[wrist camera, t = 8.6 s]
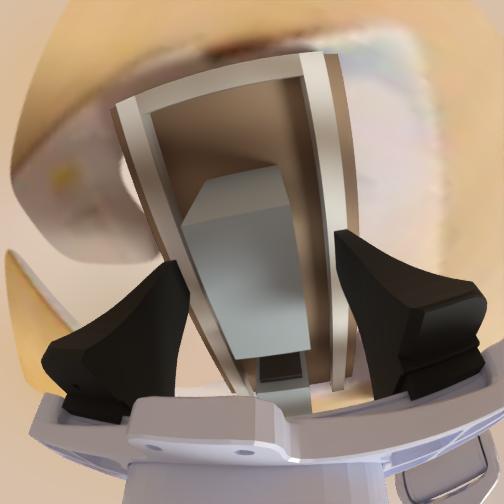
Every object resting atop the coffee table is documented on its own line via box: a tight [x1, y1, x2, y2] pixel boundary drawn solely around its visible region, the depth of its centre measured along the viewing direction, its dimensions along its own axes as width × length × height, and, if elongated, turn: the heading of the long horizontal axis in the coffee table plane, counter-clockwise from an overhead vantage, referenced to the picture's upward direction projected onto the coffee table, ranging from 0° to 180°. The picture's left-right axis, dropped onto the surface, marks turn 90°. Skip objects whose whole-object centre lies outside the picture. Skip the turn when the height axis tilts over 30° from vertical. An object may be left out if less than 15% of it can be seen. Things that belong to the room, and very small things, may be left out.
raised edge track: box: [110, 51, 359, 417], centre depth 15 cm, size 24×11×6 cm, turn 12°
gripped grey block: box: [181, 165, 311, 360], centre depth 12 cm, size 4×7×5 cm, turn 12°
